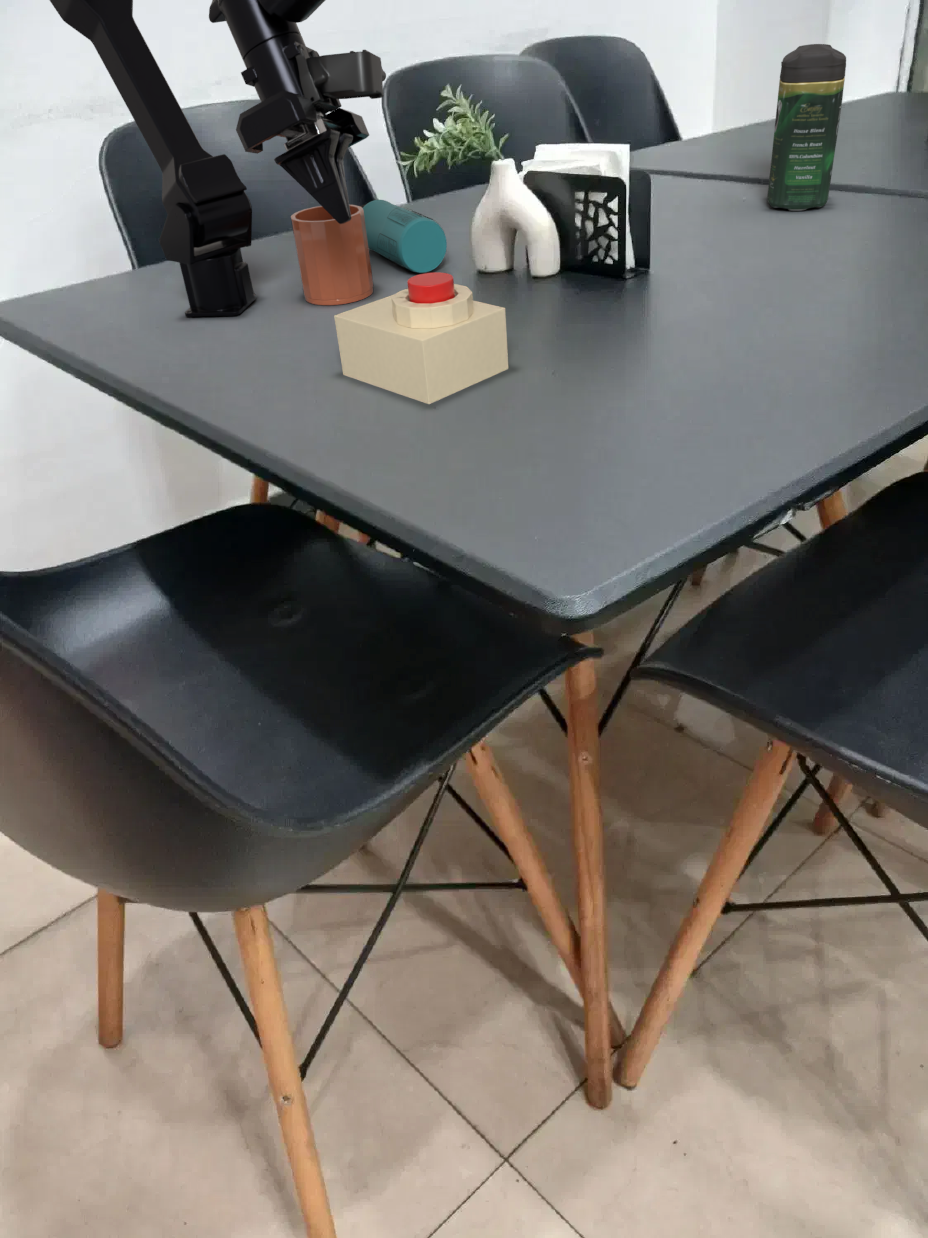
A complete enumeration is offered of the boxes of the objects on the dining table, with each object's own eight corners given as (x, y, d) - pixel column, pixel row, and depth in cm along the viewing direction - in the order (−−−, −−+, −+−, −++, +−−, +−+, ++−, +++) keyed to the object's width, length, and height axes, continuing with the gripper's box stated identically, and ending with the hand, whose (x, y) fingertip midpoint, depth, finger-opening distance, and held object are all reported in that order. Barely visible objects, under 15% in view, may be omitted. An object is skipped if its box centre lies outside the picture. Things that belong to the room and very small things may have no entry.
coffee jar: (830, 211, 126) (852, 46, 115) (766, 213, 128) (782, 50, 117) (826, 194, 134) (847, 38, 123) (766, 196, 136) (781, 42, 125)
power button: (400, 301, 85) (397, 281, 84) (433, 289, 87) (431, 269, 86) (430, 309, 83) (428, 288, 82) (464, 296, 85) (462, 276, 84)
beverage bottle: (430, 207, 111) (365, 180, 126) (392, 252, 112) (332, 220, 127) (464, 247, 116) (397, 216, 131) (428, 290, 116) (365, 254, 131)
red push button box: (343, 375, 91) (330, 295, 87) (421, 344, 97) (413, 267, 92) (429, 405, 84) (420, 319, 80) (508, 369, 89) (504, 287, 85)
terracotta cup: (296, 306, 110) (281, 223, 105) (315, 285, 117) (302, 205, 112) (364, 304, 109) (352, 219, 104) (380, 282, 116) (370, 202, 110)
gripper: (312, -20, 76) (393, 180, 80) (380, 24, 93) (444, 187, 97) (197, 49, 80) (280, 237, 84) (283, 79, 97) (348, 234, 101)
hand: (345, 221), depth 91 cm, fingers closed
